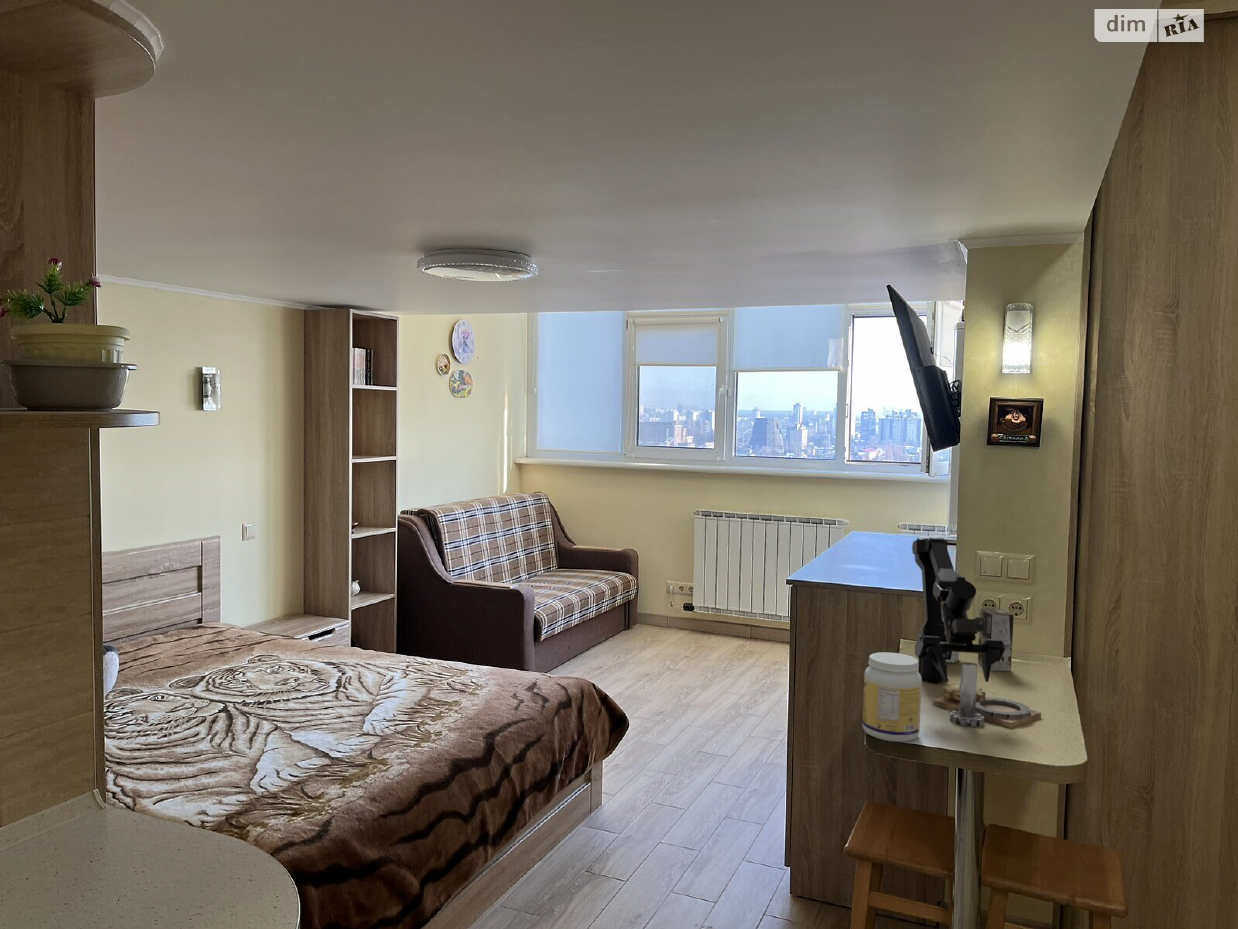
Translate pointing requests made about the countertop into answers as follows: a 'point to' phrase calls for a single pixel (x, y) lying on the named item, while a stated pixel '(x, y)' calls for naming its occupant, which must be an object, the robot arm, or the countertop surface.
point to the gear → (967, 698)
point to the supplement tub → (892, 697)
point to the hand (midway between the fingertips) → (966, 680)
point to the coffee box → (998, 635)
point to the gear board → (989, 707)
